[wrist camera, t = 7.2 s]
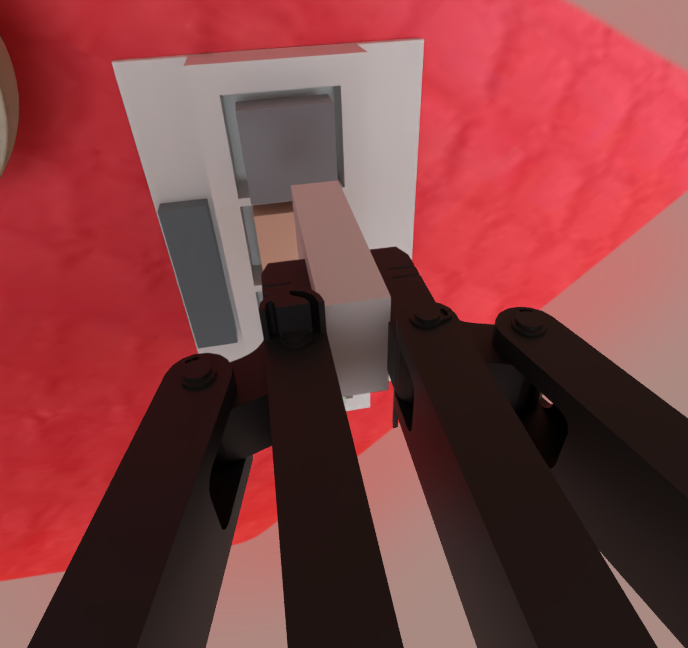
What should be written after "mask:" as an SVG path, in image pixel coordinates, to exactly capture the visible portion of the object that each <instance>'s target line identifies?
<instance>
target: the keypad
mask: <svg viewBox="0 0 688 648" xmlns="http://www.w3.org/2000/svg"><path fill="white" fill-rule="evenodd" d="M423 51H424V39H422V38H409V39H396V40H382V41H368V42H354V43H341V44H327V45H313V46H299V47H285V48H272V49H258V50H244V51H230V52H216V53H203V54H189V55H175V56H161V57H148V58H134V59H120V60H113V61H112V62H111V63H112V66H113V70H114V73H115V76H116V80H117V83H118V86H119V90H120V93H121V96H122V100H123V103H124V106H125V110H126V113H127V116H128V120H129V123H130V126H131V130H132V133H133V137H134V140H135V143H136V147H137V150H138V153H139V157H140V160H141V163H142V167H143V170H144V173H145V177H146V180H147V183H148V187H149V190H150V193H151V197H152V200H153V203H154V207H155V210H156V213H157V217H158V220H159V223H160V227H161V230H162V234H163V237H164V240H165V244H166V247H167V250H168V254H169V257H170V260H171V264H172V267H173V270H174V274H175V277H176V280H177V284H178V287H179V290H180V294H181V297H182V300H183V304H184V307H185V310H186V314H187V317H188V320H189V324H190V327H191V331H192V334H193V337H194V341H195V344H196V347H197V351H198V354H200V353H213V354H219V355H221V356H223V357H225V358H226V359H228V360H229V362H232V361H234V360H237V359H240V358H242V357H244V356H246V355H248V354H250V353H251V352H253V351H254V350H256V349H257V348H258V347H259V346H260V344H261V343H262V342H263V340H264V338H263V333H262V327H261V322H260V316H259V311H258V309H259V306H260V302H261V301H262V300H263V294H262V281H261V274H262V272H263V269H262V263H261V257H260V251H259V245H258V239H257V233H256V227H255V221H254V214H253V205H251V201H250V195H249V189H248V183H247V177H246V171H245V165H244V159H243V153H242V147H241V141H240V135H239V129H238V123H237V117H236V111H235V102H240V101H252V100H263V99H275V98H287V97H298V96H310V95H322V94H328V95H329V97H330V98H331V99H332V101H333V102H334V117H335V138H336V159H337V180H338V181H339V183H340V185H341V188H342V190H343V192H344V194H345V196H346V199H347V201H348V203H349V205H350V208H351V210H352V212H353V214H354V216H355V219H356V221H357V223H358V225H359V227H360V230H361V232H362V234H363V236H364V239H365V241H366V243H367V245H368V247H369V250H370V249H378V248H387V247H395V246H396V247H398V248H399V249H401V250H402V251H404V252H405V253H407V254H408V255H409V257H410V258H411V260H412V247H413V229H414V212H415V194H416V176H417V158H418V140H419V123H420V105H421V87H422V69H423ZM285 202H287V201H285ZM276 203H278V202H276ZM267 204H269V203H267ZM258 205H260V204H258ZM389 381H391V379H390V376H389ZM344 406H345V410H346V411H350V410H356V409H362V408H367V407H370V393H365V394H359V395H352V396H346V403H344Z"/></svg>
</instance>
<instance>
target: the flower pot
mask: <svg viewBox="0 0 688 648" xmlns="http://www.w3.org/2000/svg"><path fill="white" fill-rule="evenodd" d="M18 122H19V94H18V87H17V81H16V76H15V72H14V68H13V65H12V62H11V58H10V55H9V53H8V51H7V48H6V46H5V44H4V42H3V40H2V38H1V36H0V178H1V176H2V174H3V172H4V170H5V168H6V166H7V164H8V161H9V159H10V156H11V154H12V150H13V147H14V143H15V139H16V135H17V129H18Z"/></svg>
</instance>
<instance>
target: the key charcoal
mask: <svg viewBox="0 0 688 648" xmlns="http://www.w3.org/2000/svg"><path fill="white" fill-rule="evenodd" d="M235 111H236V117H237V123H238V129H239V135H240V141H241V147H242V153H243V159H244V165H245V171H246V177H247V183H248V189H249V195H250V201H251V205H258V204H267V203H276V202H285V201H292V193H291V185H298V184H308V183H318V182H327V181H337V159H336V138H335V117H334V102H333V101H332V99H331V98H330V97H329V95H328V94H322V95H310V96H298V97H287V98H275V99H263V100H252V101H240V102H235Z"/></svg>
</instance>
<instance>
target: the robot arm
mask: <svg viewBox="0 0 688 648" xmlns="http://www.w3.org/2000/svg"><path fill="white" fill-rule="evenodd" d="M291 193H292V203H293V212H294V221H295V230H296V239H297V248H298V258H299V260H291V261H282V262H274V263H268V264H267V266H266V267H265V269H264V270H263V272H262V274H261V281H262V294H263V300H262V301H261V302H260V306H259V309H258V311H259V316H260V322H261V327H262V333H263V338H264V340H263V342H262V343H261V344H260V346H259V347H258V348H257V349H256V350H254V351H253V352H251V353H250V354H248V355H246V356H244V357H242V358H240V359H237V360H234V361H232V362H229V360H228V359H226V358H225V357H223V356H221V355H219V354H213V353H200V354H194V355H191V356H189V357H186V358H183V359H181V360H180V361H178V362H177V363H175V364H174V365H173V366H172V367H171V368H170V369H169V370H168V372H167V373H166V374H165V376H164V378H163V380H162V382H161V384H160V386H159V388H158V390H157V392H156V394H155V396H154V398H153V400H152V402H151V404H150V406H149V408H148V410H147V412H146V413H145V415H144V417H143V419H142V421H141V423H140V425H139V427H138V429H137V431H136V433H135V435H134V437H133V439H132V441H131V443H130V445H129V447H128V449H127V451H126V453H125V455H124V457H123V459H122V461H121V463H120V465H119V467H118V469H117V471H116V473H115V475H114V477H113V479H112V481H111V483H110V485H109V487H108V489H107V491H106V493H105V495H104V497H103V499H102V501H101V503H100V505H99V507H98V508H97V510H96V512H95V514H94V516H93V518H92V520H91V522H90V524H89V526H88V528H87V530H86V532H85V534H84V536H83V538H82V540H81V542H80V544H79V546H78V548H77V550H76V552H75V554H74V556H73V558H72V560H71V562H70V564H69V566H68V568H67V570H66V572H65V574H64V576H63V578H62V580H61V582H60V584H59V586H58V588H57V590H56V592H55V594H54V596H53V598H52V600H51V601H50V603H49V606H48V607H47V609H46V612H45V613H44V616H43V618H42V619H41V621H40V623H39V626H38V628H37V629H36V631H35V633H34V635H33V637H32V639H31V641H30V643H29V645H28V647H27V648H206V644H207V640H208V635H209V632H210V628H211V624H212V620H213V616H214V612H215V608H216V604H217V600H218V596H219V592H220V588H221V584H222V580H223V576H224V572H225V568H226V564H227V560H228V556H229V552H230V548H231V544H232V540H233V536H234V532H235V528H236V524H237V520H238V516H239V512H240V508H241V504H242V500H243V496H244V492H245V488H246V484H247V480H248V476H249V472H250V468H251V465H252V461H253V454H255V453H257V452H259V451H261V450H263V449H265V448H268V447H270V446H272V450H273V463H274V476H275V489H276V502H277V514H278V527H279V540H280V553H281V566H282V579H283V591H284V605H285V617H286V631H287V644H288V648H404V647H403V643H402V639H401V635H400V631H399V627H398V623H397V619H396V614H395V611H394V606H393V603H392V598H391V594H390V590H389V586H388V582H387V578H386V574H385V570H384V565H383V561H382V557H381V553H380V549H379V545H378V541H377V537H376V533H375V529H374V524H373V520H372V516H371V512H370V508H369V504H368V500H367V496H366V492H365V487H364V484H363V479H362V475H361V471H360V467H359V463H358V459H357V455H356V451H355V447H354V442H353V438H352V434H351V430H350V426H349V422H348V418H347V414H346V410H345V406H344V401H343V397H346V396H352V395H359V394H365V393H371V392H378V391H384V390H388V383H389V376H390V379H391V382H392V385H393V387H394V395H393V428H396V427H398V420H399V422H400V425H401V428H402V431H403V434H404V437H405V440H406V443H407V446H408V448H409V451H410V454H411V457H412V460H413V463H414V466H415V469H416V472H417V474H418V477H419V480H420V483H421V486H422V489H423V492H424V495H425V498H426V501H427V504H428V506H429V509H430V512H431V515H432V518H433V521H434V524H435V526H436V530H437V532H438V535H439V538H440V541H441V544H442V547H443V550H444V553H445V556H446V558H447V561H448V564H449V567H450V570H451V573H452V576H453V579H454V582H455V584H456V587H457V590H458V593H459V596H460V599H461V602H462V605H463V608H464V611H465V614H466V616H467V619H468V622H469V625H470V628H471V631H472V634H473V637H474V639H475V642H476V645H477V648H657V646H656V644H655V642H654V641H653V639H652V638H651V636H650V634H649V633H648V631H647V629H646V627H645V626H644V624H643V622H642V621H641V619H640V618H639V616H638V614H637V613H636V611H635V609H634V608H633V606H632V604H631V603H630V601H629V599H628V598H627V596H626V595H625V593H624V591H623V590H622V588H621V586H620V584H619V583H618V581H617V580H616V578H615V576H614V575H613V573H612V571H611V570H610V568H609V566H608V565H607V563H606V561H605V560H604V558H603V557H602V555H601V553H602V554H603V555H604V556H605V557H606V559H607V560H608V561H609V562H610V563H611V564H612V565H613V566H614V568H615V569H616V570H617V571H618V572H619V573H620V575H621V576H622V577H623V578H624V579H625V580H626V581H627V582H628V584H629V585H630V586H631V587H632V588H633V589H634V590H635V592H636V593H637V594H638V595H639V596H640V597H641V598H642V599H643V601H644V602H645V603H646V604H647V605H648V606H649V607H650V609H651V610H652V611H653V612H654V613H655V614H656V615H657V617H658V618H659V619H660V620H661V621H662V622H663V623H664V624H665V626H667V628H668V629H669V630H670V631H671V632H672V633H673V635H674V636H675V637H676V638H677V639H678V640H679V641H680V642H681V644H682V645H683V646H684V647H685V648H688V418H686V417H685V416H684V415H682V414H681V413H680V412H679V411H677V410H676V409H675V408H673V407H672V406H670V405H669V404H668V403H667V402H665V401H664V400H662V399H661V398H660V397H658V396H657V395H656V394H655V393H653V392H652V391H651V390H649V389H648V388H647V387H645V386H644V385H643V384H641V383H640V382H639V381H637V380H636V379H635V378H633V377H632V376H631V375H629V374H628V373H626V372H625V371H624V370H623V369H621V368H620V367H619V366H617V365H616V364H615V363H613V362H612V361H611V360H609V359H608V358H607V357H605V356H604V355H603V354H601V353H600V352H599V351H597V350H596V349H595V348H593V347H592V346H591V345H589V344H588V343H587V342H586V341H584V340H583V339H582V338H580V337H579V336H577V335H576V334H575V333H574V332H572V331H571V330H569V329H568V328H567V327H566V326H564V325H563V324H562V323H560V322H559V321H558V320H556V319H555V318H554V317H552V316H550V315H548V314H547V313H545V312H543V311H540V310H537V309H533V308H526V307H515V308H509V309H506V310H504V311H503V312H501V313H499V315H498V316H497V318H496V320H495V325H491V324H478V323H469V322H463V321H460V320H459V319H458V317H457V315H456V314H455V313H454V312H453V311H452V310H451V309H450V308H449V307H447V306H445V305H443V304H441V303H436V302H435V300H434V299H433V297H432V295H431V293H430V292H429V290H428V288H427V286H426V285H425V283H424V281H423V279H422V278H421V276H419V272H418V271H417V269H416V267H414V264H413V262H412V260H411V258H410V257H409V255H408V254H407V253H405V252H404V251H402V250H401V249H399V248H398V247H396V246H395V247H387V248H378V249H370V250H369V247H368V245H367V243H366V241H365V239H364V236H363V234H362V232H361V230H360V227H359V225H358V223H357V221H356V219H355V216H354V214H353V212H352V210H351V208H350V205H349V203H348V201H347V199H346V196H345V194H344V192H343V190H342V188H341V185H340V183H339V181H338V180H337V181H327V182H318V183H308V184H298V185H291ZM542 394H544V395H545V396H546V397H547V398H548V399H549V400H550V401H551V402H552V403H553V404H550V403H548V402H547V401H546V400H545V399H544V398H542ZM600 552H601V553H600Z"/></svg>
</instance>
